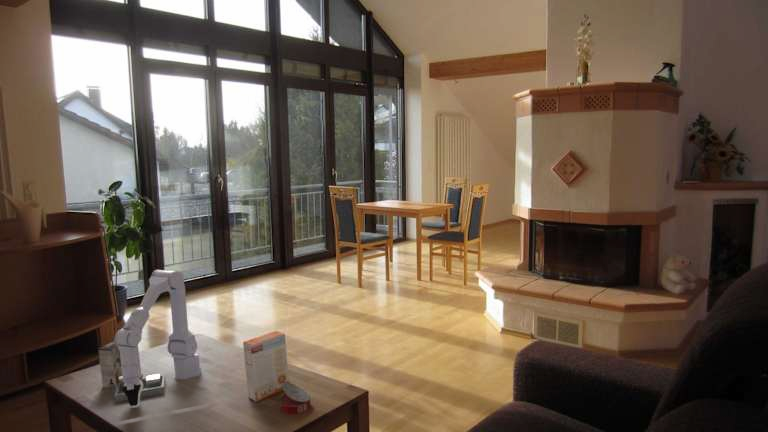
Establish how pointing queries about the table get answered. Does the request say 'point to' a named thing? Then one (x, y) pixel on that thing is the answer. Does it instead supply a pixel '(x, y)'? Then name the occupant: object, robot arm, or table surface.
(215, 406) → the table surface
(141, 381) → the lightbulb
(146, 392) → the tote
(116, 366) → the coffee box
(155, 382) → the steel block
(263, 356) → the cracker box
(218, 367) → the table surface
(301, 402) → the canned food
